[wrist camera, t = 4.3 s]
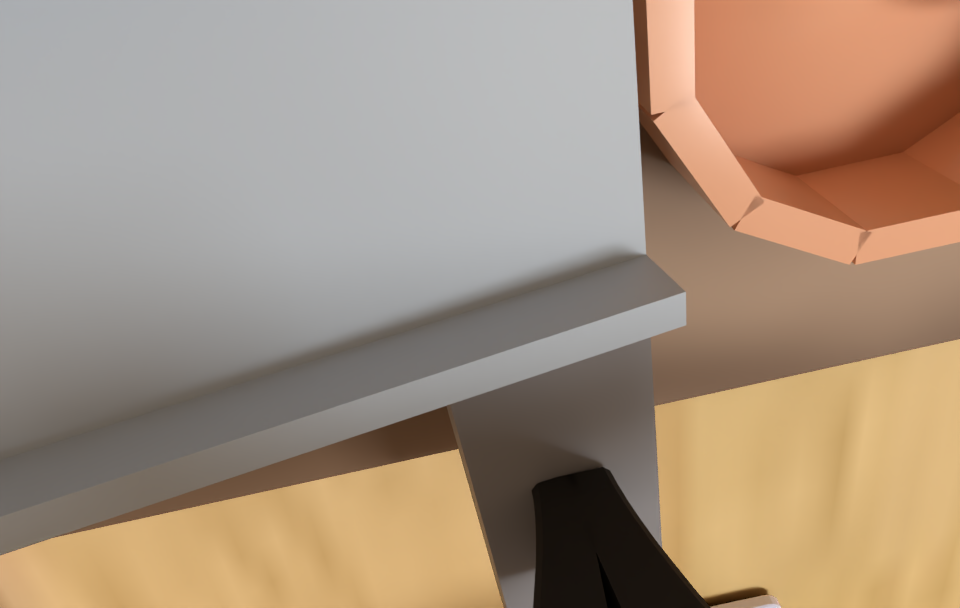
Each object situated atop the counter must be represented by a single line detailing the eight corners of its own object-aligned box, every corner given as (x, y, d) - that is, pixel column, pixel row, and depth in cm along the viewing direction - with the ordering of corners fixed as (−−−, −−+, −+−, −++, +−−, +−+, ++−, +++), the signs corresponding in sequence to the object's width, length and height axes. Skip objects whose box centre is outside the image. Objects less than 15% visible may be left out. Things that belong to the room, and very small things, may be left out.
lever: (606, 489, 15) (706, 660, 12) (-105, 748, 13) (-226, 1040, 10) (520, -242, 8) (712, -333, 5) (-1064, 87, 6) (-2680, 336, 3)
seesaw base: (1013, 296, 17) (1192, 421, 13) (-22, 523, 17) (-136, 711, 13) (1289, -600, 9) (1935, -923, 5) (-659, -166, 9) (-1390, -180, 5)
